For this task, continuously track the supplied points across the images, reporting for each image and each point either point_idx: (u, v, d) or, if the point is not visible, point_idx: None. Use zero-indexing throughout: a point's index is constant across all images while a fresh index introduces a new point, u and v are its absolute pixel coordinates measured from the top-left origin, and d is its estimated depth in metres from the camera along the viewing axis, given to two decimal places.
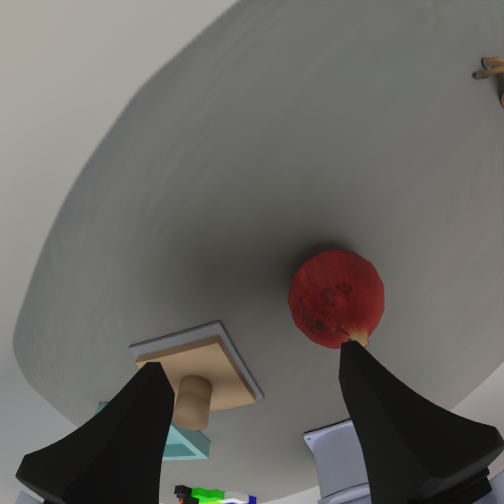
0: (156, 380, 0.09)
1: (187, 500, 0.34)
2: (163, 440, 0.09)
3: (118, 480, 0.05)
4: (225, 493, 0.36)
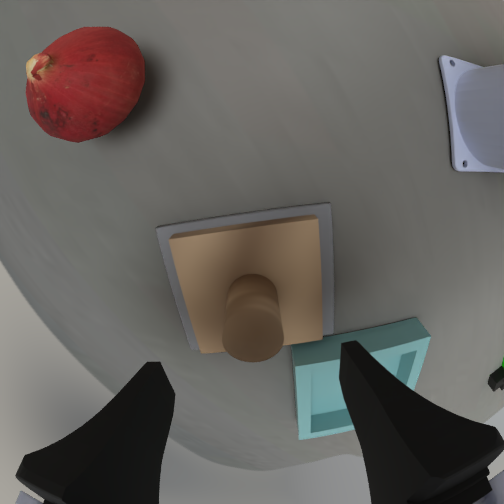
0: (156, 380, 0.09)
1: None
2: (163, 440, 0.09)
3: (118, 480, 0.05)
4: None
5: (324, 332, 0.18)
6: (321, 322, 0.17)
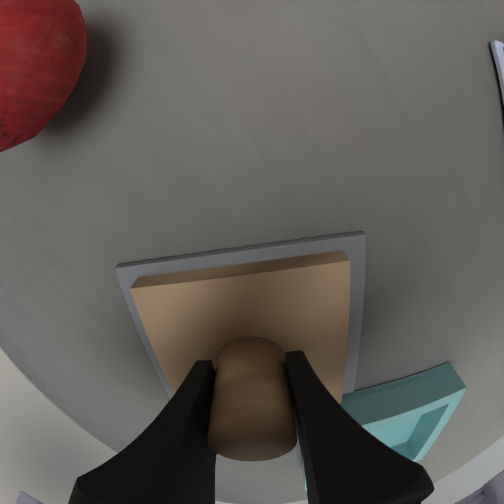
0: (210, 379, 0.09)
1: None
2: None
3: (187, 491, 0.05)
4: None
5: None
6: (341, 386, 0.12)
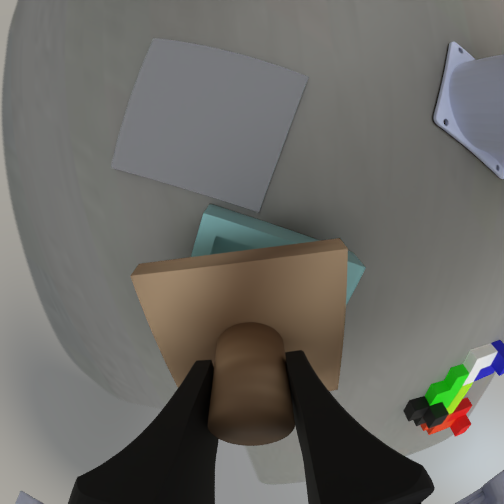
0: (210, 379, 0.09)
1: (429, 415, 0.23)
2: (215, 442, 0.08)
3: (187, 491, 0.05)
4: (465, 364, 0.23)
5: (249, 205, 0.17)
6: (338, 372, 0.12)
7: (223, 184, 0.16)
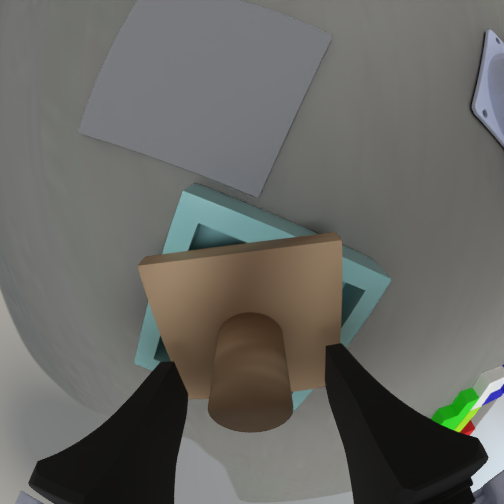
0: (171, 380, 0.09)
1: None
2: (177, 441, 0.09)
3: (136, 484, 0.05)
4: (475, 388, 0.20)
5: (247, 187, 0.13)
6: None
7: (214, 157, 0.12)
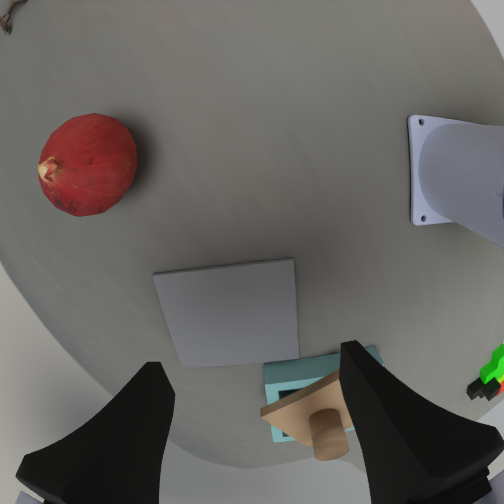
0: (156, 380, 0.09)
1: (486, 392, 0.24)
2: (163, 440, 0.09)
3: (118, 480, 0.05)
4: None
5: (290, 357, 0.22)
6: None
7: (267, 353, 0.22)
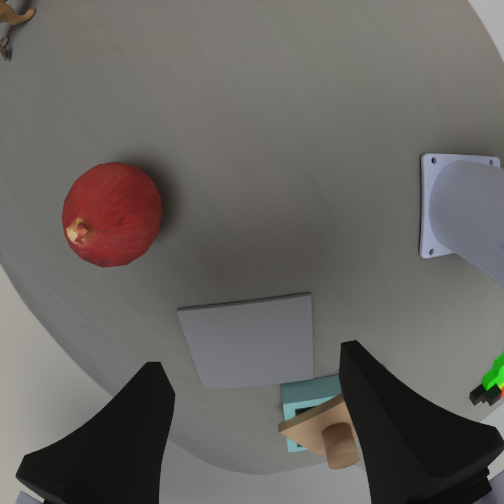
0: (156, 380, 0.09)
1: (488, 397, 0.25)
2: (163, 440, 0.09)
3: (118, 480, 0.05)
4: None
5: (306, 378, 0.23)
6: None
7: (284, 376, 0.23)
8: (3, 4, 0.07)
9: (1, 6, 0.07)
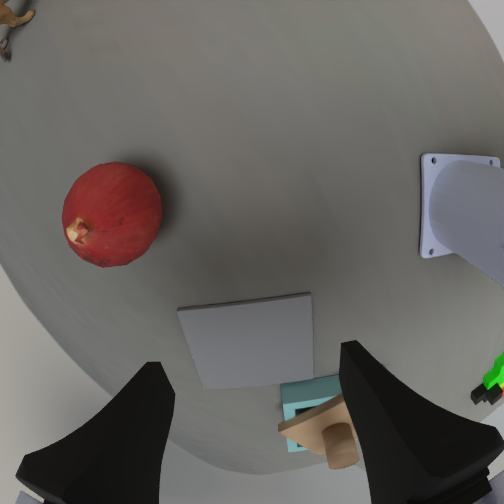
0: (156, 380, 0.09)
1: (489, 397, 0.25)
2: (163, 440, 0.09)
3: (118, 480, 0.05)
4: None
5: (306, 378, 0.23)
6: None
7: (284, 376, 0.23)
8: (2, 6, 0.07)
9: (0, 8, 0.07)
